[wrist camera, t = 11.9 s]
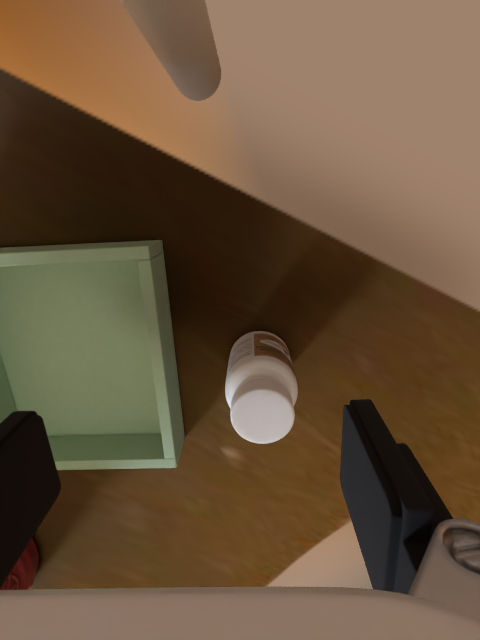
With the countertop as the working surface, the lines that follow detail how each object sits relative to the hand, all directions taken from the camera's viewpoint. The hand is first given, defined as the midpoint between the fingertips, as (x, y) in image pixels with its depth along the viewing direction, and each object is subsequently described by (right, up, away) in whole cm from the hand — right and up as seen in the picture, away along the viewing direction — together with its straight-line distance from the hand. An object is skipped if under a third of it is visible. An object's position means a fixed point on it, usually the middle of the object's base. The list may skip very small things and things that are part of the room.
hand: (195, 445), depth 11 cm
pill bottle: (+3, +1, +16) cm, 16 cm away
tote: (-10, +2, +16) cm, 19 cm away
